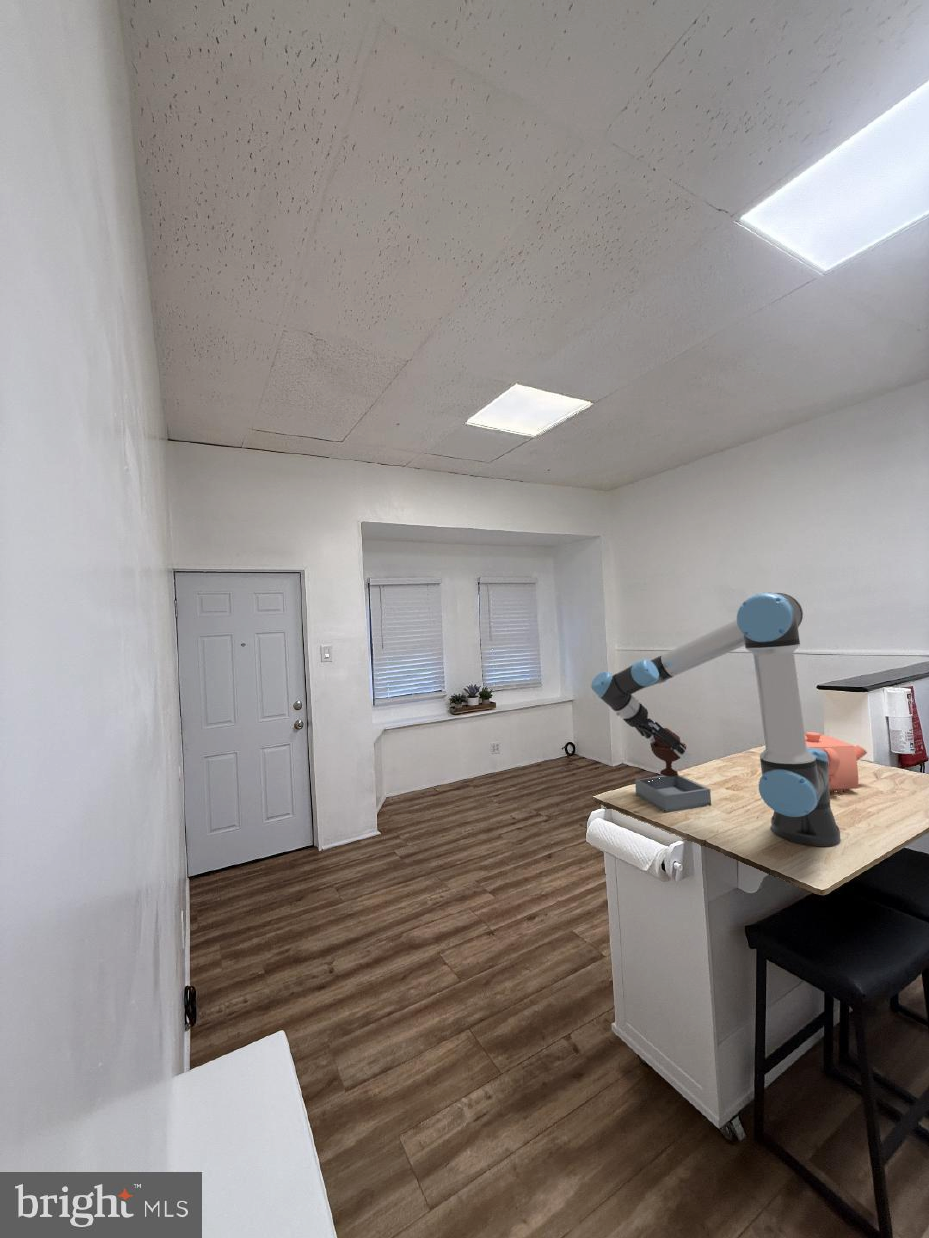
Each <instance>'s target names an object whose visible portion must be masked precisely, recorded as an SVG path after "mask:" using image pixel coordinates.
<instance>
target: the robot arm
mask: <svg viewBox="0 0 929 1238" xmlns="http://www.w3.org/2000/svg"><path fill="white" fill-rule="evenodd" d="M803 618H804V612H803V607H802V605H801V604H800V603H799V601H798V600H797V599H796V598H794V597H793V596H792V595H789V594H786V593H784V592H783V593H782V592H772V591H771V592H762V593H756V594H754V595H752V596H751V597H748V598H747V599H746V600H744V601H743V602H742V604H741V605H740V607H738V610H737V613H736V619H734V620H732V621H729V622H728V623H726V624H724V625H722V626H719V627H717V628H716V629H713V630H711V631H709V632H707V633H705V634H703V635H700V636H698V637H697V638H695V639H692V640H690V641H689V642H687V643H684V644H682V645H680V646H678V647H676V648H674V649H672V650H669V651H668V652H665V653H664V654H661V655H660V656H658V657H655V658H652V659H651V660H649V659H648V658H647V659H646V658H644V659H642V660H640V661H637V662H635V663H633V664H632V665H631V666H628V667H627V668H624V669H623V670H621V671H620V672H617V673H615V674H611V673H610V672H608V671H607V670H606V671H601V672H600V673H597V675H596V676H594V678H593V679H592V681H591V684H590V686H591V687H590V688H591V689H592V691H593V692H594V693H595V694H596V695H597V696H598V698H600V700H602V701H603V702H604V703H605V704H607V705H608V706H609V707H610V708H611V710H613V712H615V716H617V717H618V716H620V718H621V719H622V720H623V721H624V722H625V723H626V724H627V725H629V726H630V727H632V728H635V729H636V731H637V732H638V733H639V734H640V736H641V737H644V738H646V739H647V740H649V742H650V743H651V742H654V741H655V739H654V737H653V736H656V737H658V738H659V739H660V740H662V741H663V742H665V743H666V744H667V745H669V746H670V747H671V749H672V750H671V751H674V752H675V753H676V754H677V755H678V756H679V757H680V759H681V760H682V761H683V762H684V763H687V762H689V759H690V758H691V757H692V755H691V754H690V753H689V752H688V751H687V749H686V750H685V749H684V748H683V747H682V746H681V743H682V741H681V740H680V741H679V740H677V739H676V738H675V737H674V736H672V735H671V734H670V733H669V732H667V731H666V730H665V729H664V728H665V727H662V725H661V724H659V722H657V721H655V722H654V721H653V720H652V719H651V718H649V712H648V711H649V710H648V709H647V708H646V707H645V706H644V705H643V704H642V703H640V702H639V700H638V699H637V698H636V697H635V696H634V694H636V693H637V692H639V691H641V690H643V689H647V688H649V687H651V686H655V685H658V684H661V683H664V682H666V681H668V680H669V679H672V678H674V677H676V676H678V675H682V674H683V673H685V672H688V671H690V670H692V669H694V668H697V667H699V666H701V665H704V664H705V663H709V662H711V661H712V660H715V659H717V658H720V657H722V656H724V655H727V654H729V653H731V652H733V651H736V650H738V649H740V648H743V647H745V650H747V651H748V652H750V653H751V654H752V655H753V660H754V661H753V662H754V670H755V677H756V685H757V692H758V699H759V707H760V715H761V723H762V730H763V737H764V746H765V749H764V750H763V751H762V752H761V753H760V754H759V759H760V760H759V762H760V769H761V770H760V771H761V777H760V778H759V781H758V792H759V795H760V797H761V799H762V800H763V802H764V803H765V804H766V806H768V807H769V808H770V809H771V810H773V813H772V814H773V815H772V816H771V818H770V822H771V823H770V825H771V826H770V828H771V830H772V832H773V833H774V834H775V835H777V836H779V837H780V838H782V839H784V840H788V841H789V842H793V843H797V844H801V845H807V846H813V847H830V846H836V845H837V844H839V843H840V842H841V841H842V840H841V830H840V828H839V826H838V825H837V821H836V820H835V817H834V813H833V811H832V808H831V793H830V791H831V789H829V770H828V764H829V761H828V756H827V753H826V752H825V751H823V750H820V749H816V748H811V747H806V739H805V735H806V734H805V733H806V732H805V726H804V718H803V712H802V704H801V702H802V701H801V695H800V689H799V682H798V680H799V679H798V676H797V674H798V673H797V668H796V667H797V666H796V661H795V660H796V659H795V651H796V650H797V649H798V648H799V647H800V646H801V641H800V632H799V627H800V625H801V623H802V622H803Z"/></svg>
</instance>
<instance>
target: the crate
mask: <svg viewBox="0 0 929 1238" xmlns="http://www.w3.org/2000/svg"><path fill="white" fill-rule="evenodd" d="M659 778H660V779H659ZM634 780H635V781H634V784H635V795H636V796H638V797H640V798H641V799H642V800H644V801H645V802H648V803H649V804H651V805H652V806H654V807H656V808H657V809H659V810H661V811H662V812H664V813H666V814H667V813H673V812H678V811H685V810H689V809H690V810H691V809H697V808H702V807H707V805H709V806H712V802H711V801H712V800H711V799H712V798H711V797H712V796H711V789H710V788H709V787H706V786H705V785H702V784H700V783H698V782H696V781H693V780H691V779H689V778H687V777H685V776H683V775H680V774H679V773H678V775H677V776H673V777H669V776H664V775H657V776H650V777H646V778H645V777H644V778H643V777H642V778H637V779H636V778H635V779H634ZM652 780H653V781H652ZM648 781H650V782H648Z"/></svg>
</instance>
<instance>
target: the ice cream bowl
mask: <svg viewBox="0 0 929 1238" xmlns="http://www.w3.org/2000/svg"><path fill="white" fill-rule="evenodd" d="M663 728H664V729H665V730H666V731H667V732H669V733H670V734H671V735H672V736H674V737H675V738H676V739H677V740H679V741H680V742H681V737H680V736H679V735H678V734H676V733H675V732H673V731H672V730H671V729H669V728H668V727H663ZM653 737H654V739H655V741H654V742H651V741H650V742H649V745H650V749H651V751H652V753H653V755H654V756H656V758H658V759H659V760H661V761H664V762H665V768H664V769H662V770H660V772H659V773H660V776H669V777H673V776H677V775H678V774H679V773H678V771H677V770H676V769H674V768H672V767H673V766H672V764H673V762H676V761H678V760H680V759H681V758H680V757H679V756H678V755H677V754H676V753H675V752H674V751H671V750H672V749H671V747H670V746H669V745H667V744H666V743H665V742H663V741H662V740H660V739H659V738H658V737H656V736H653ZM681 746H682V747H683V748H684V749H685V750H686V751H687V745H686V743H684V742H681Z"/></svg>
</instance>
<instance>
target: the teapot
mask: <svg viewBox="0 0 929 1238" xmlns="http://www.w3.org/2000/svg"><path fill="white" fill-rule="evenodd" d="M805 739H806V747H811V748H816V749H820V750H823V751H825V752H826V753H827V756H828V761H829V764H828V770H829V789H830V791H832V792H834V791H837V792H836V793H838V792H843V791H845V790H848V789H849V790H853V789H855V790H856V789H858V788H859V770H858V761H859V760H860V759H862V758H863V757H865V755H867V754H868V751H867V750H866V749H865V748H863V747H862V746H860V745H859V744H858V745H853V744H850V743H847V742H846V741H843V740H840V739H838V738H835V737H833V736H830V735H827V734H821V733H819V732H817V731H808V732H805ZM843 793H844V792H843Z"/></svg>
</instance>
